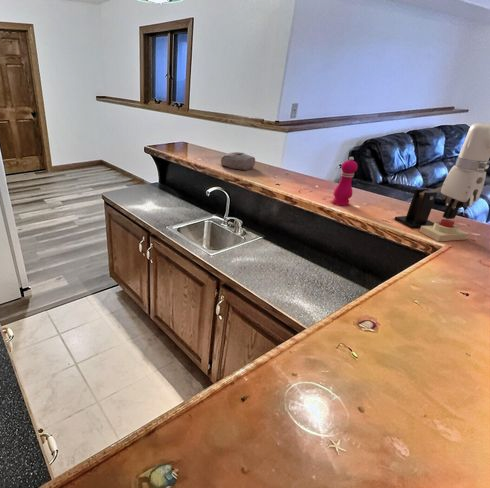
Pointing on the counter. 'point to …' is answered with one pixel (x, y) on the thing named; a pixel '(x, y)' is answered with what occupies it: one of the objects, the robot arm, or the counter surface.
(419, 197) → the toaster lever
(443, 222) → the button
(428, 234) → the button block
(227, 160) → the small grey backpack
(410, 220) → the lever bracket
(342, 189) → the pepper mill
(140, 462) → the counter surface
